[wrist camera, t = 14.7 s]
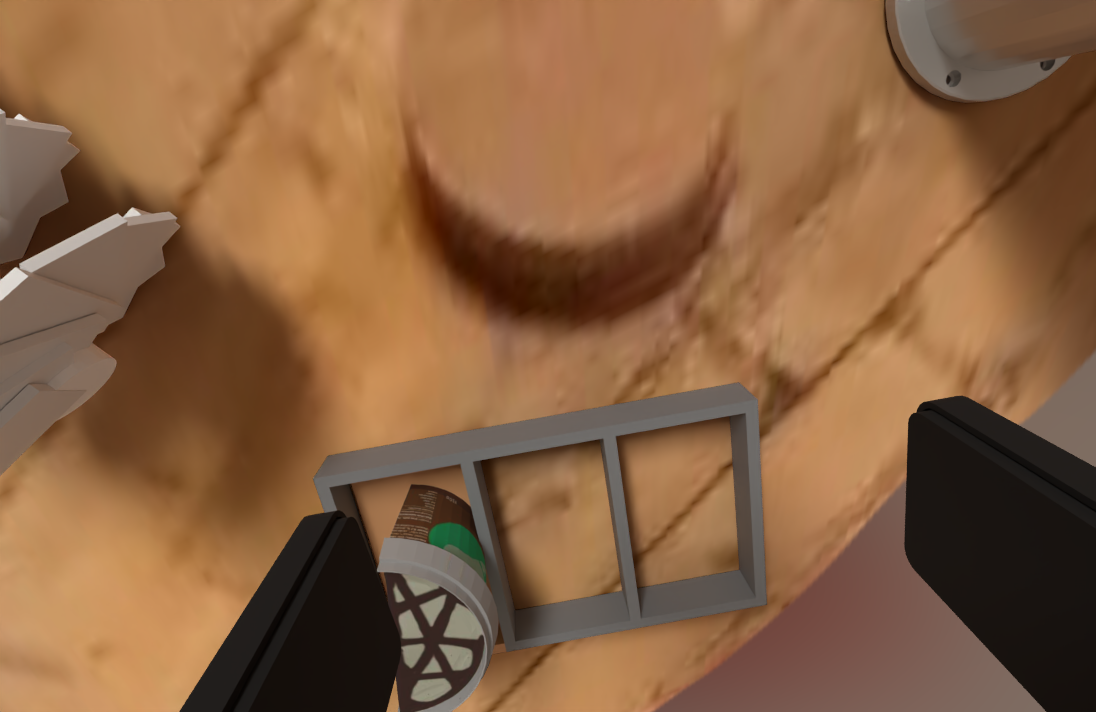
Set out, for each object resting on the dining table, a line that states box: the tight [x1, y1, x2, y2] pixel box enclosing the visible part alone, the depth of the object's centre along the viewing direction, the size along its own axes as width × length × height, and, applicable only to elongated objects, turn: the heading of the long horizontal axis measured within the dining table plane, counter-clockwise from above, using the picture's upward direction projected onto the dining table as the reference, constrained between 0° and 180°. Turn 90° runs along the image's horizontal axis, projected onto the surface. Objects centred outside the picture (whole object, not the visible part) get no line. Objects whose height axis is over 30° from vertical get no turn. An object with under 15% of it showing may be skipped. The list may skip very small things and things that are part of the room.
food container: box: [377, 484, 499, 712], centre depth 35 cm, size 12×6×10 cm, turn 0°
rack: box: [313, 383, 767, 654], centre depth 39 cm, size 29×17×3 cm, turn 99°
